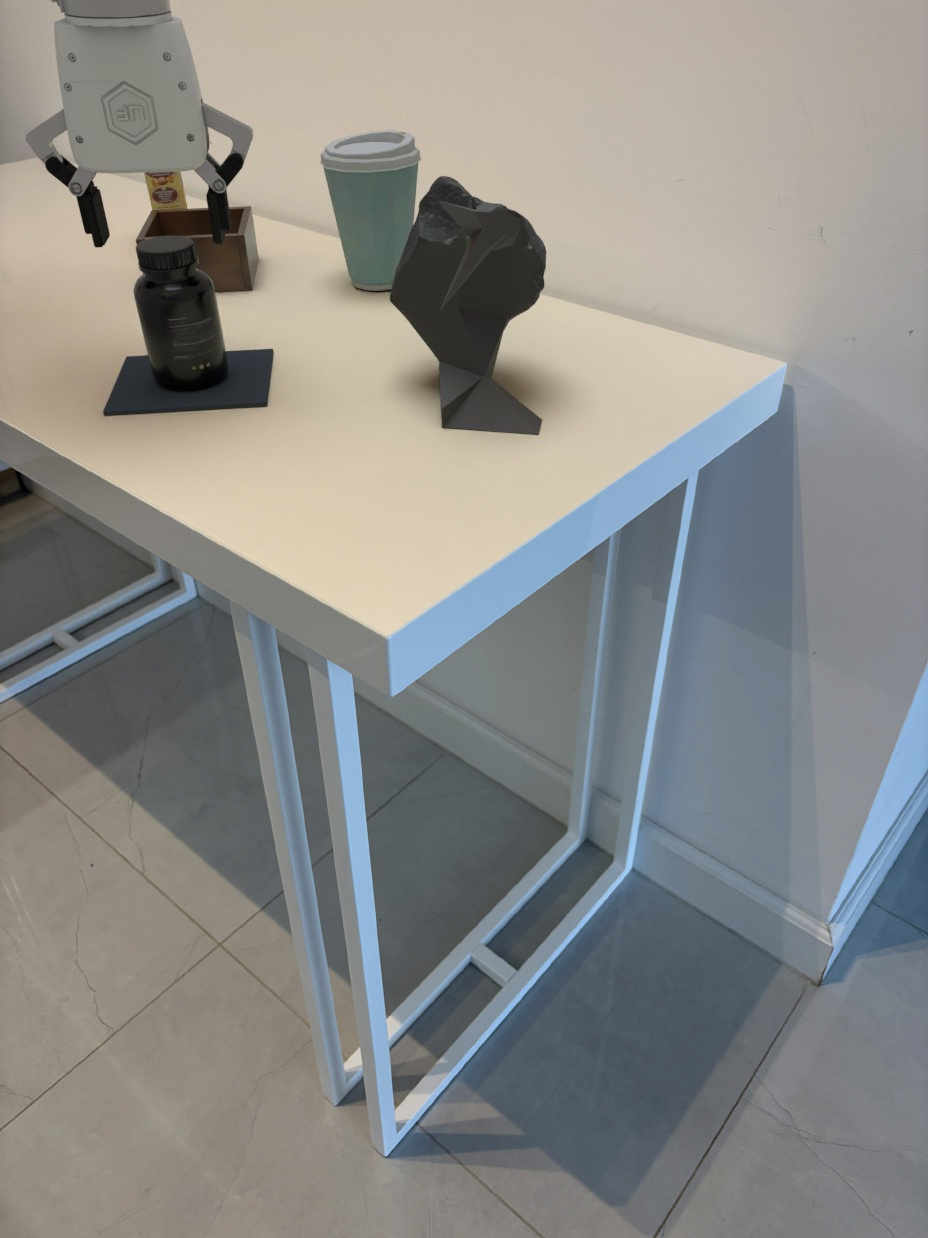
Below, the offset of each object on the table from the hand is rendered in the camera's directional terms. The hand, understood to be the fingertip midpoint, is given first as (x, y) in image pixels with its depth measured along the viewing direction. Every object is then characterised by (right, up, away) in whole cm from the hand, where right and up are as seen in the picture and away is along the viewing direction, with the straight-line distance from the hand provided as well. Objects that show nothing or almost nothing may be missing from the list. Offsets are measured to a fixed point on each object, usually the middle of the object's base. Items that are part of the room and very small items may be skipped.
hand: (161, 240), depth 78 cm
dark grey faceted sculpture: (+26, -11, +6) cm, 29 cm away
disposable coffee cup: (+16, +7, +29) cm, 33 cm away
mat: (+1, -10, +8) cm, 13 cm away
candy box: (-11, +16, +41) cm, 45 cm away
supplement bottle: (0, -10, +8) cm, 12 cm away
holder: (-5, +8, +31) cm, 32 cm away
